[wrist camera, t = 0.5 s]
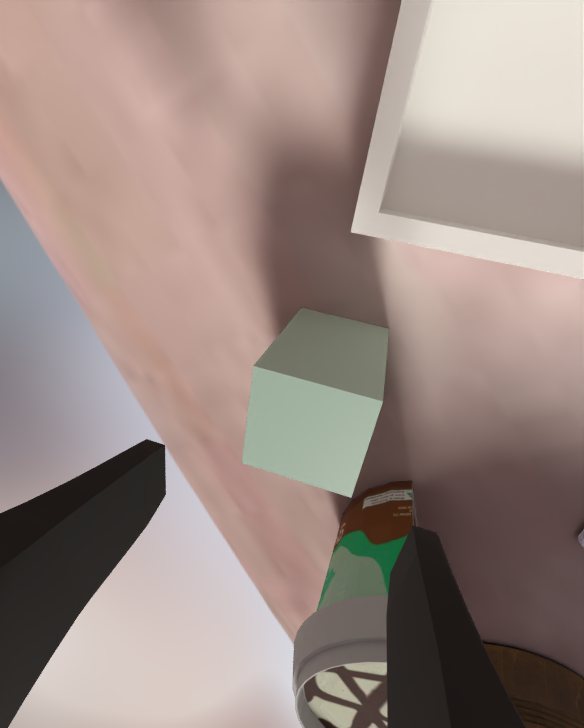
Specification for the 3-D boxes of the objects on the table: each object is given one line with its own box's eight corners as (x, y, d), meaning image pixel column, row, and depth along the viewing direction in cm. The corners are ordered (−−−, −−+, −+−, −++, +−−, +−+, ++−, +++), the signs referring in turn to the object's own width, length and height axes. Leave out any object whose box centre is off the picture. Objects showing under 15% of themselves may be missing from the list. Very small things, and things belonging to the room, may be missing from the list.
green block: (389, 328, 18) (383, 401, 12) (366, 403, 20) (351, 497, 14) (301, 307, 19) (253, 366, 13) (288, 381, 21) (241, 462, 15)
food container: (306, 461, 23) (249, 629, 14) (409, 460, 21) (415, 655, 12) (340, 592, 28) (312, 780, 19) (427, 602, 26) (441, 817, 17)
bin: (856, -124, 10) (1068, -268, 7) (622, 275, 15) (680, 298, 12) (443, -138, 11) (459, -259, 8) (360, 223, 16) (350, 232, 13)
